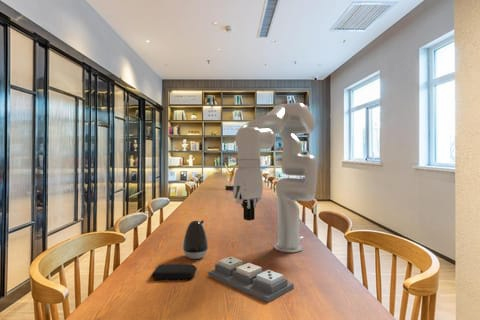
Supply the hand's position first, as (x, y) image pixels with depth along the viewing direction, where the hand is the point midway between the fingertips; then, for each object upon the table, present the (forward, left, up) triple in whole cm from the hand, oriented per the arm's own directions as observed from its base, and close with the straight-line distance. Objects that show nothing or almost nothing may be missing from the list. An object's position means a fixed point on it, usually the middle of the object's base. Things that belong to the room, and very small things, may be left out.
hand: (249, 219), depth 102 cm
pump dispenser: (-2, -32, -21) cm, 38 cm away
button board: (0, 0, -21) cm, 21 cm away
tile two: (0, -9, -18) cm, 20 cm away
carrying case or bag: (+14, -23, -22) cm, 35 cm away
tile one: (0, 0, -18) cm, 18 cm away
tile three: (0, +9, -18) cm, 20 cm away
